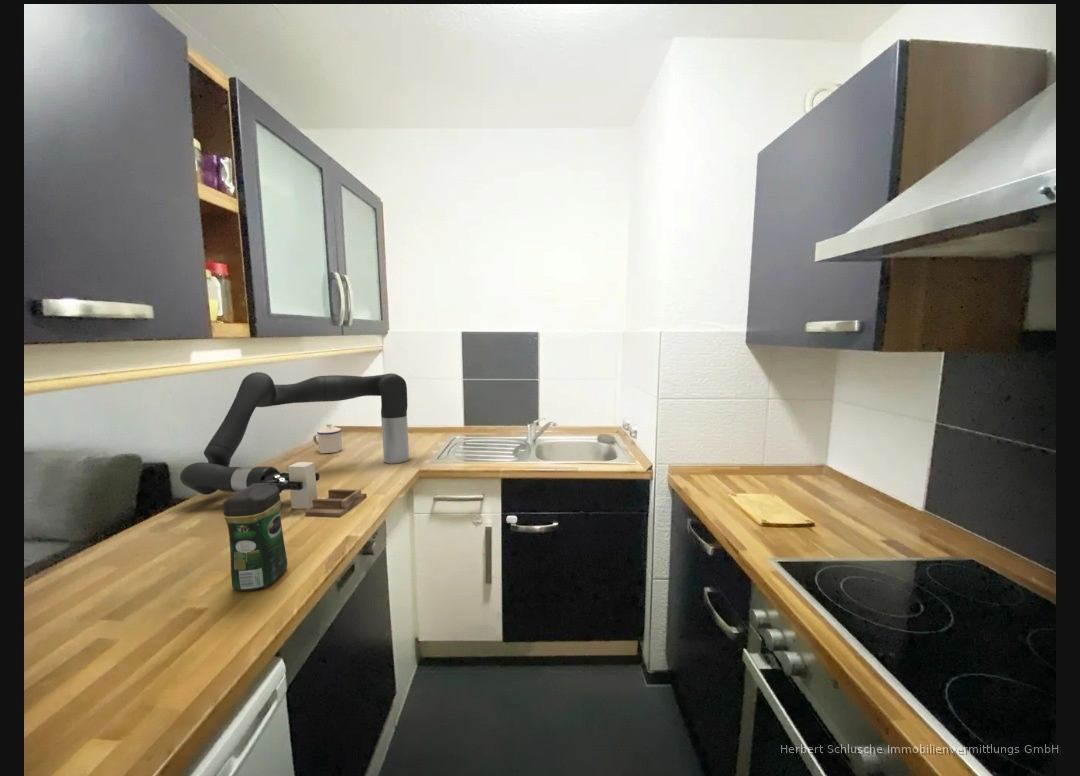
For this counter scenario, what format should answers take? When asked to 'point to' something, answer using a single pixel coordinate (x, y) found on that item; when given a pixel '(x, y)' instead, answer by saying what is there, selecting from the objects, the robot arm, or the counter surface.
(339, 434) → the teacup with lid
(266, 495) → the coffee jar
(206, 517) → the counter surface
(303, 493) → the white rectangular block
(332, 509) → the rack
